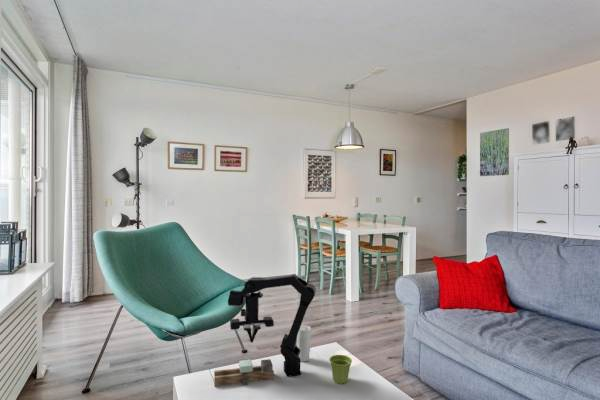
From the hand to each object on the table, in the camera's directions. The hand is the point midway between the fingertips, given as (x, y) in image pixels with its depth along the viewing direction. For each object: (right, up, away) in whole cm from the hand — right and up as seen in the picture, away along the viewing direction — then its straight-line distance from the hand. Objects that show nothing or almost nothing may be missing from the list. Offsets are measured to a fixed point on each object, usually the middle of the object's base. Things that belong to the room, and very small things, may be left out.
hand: (251, 342), depth 157 cm
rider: (-1, -10, -9) cm, 13 cm away
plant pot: (+38, -13, -9) cm, 41 cm away
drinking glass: (+23, -13, +10) cm, 28 cm away
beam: (-2, -12, -9) cm, 15 cm away
